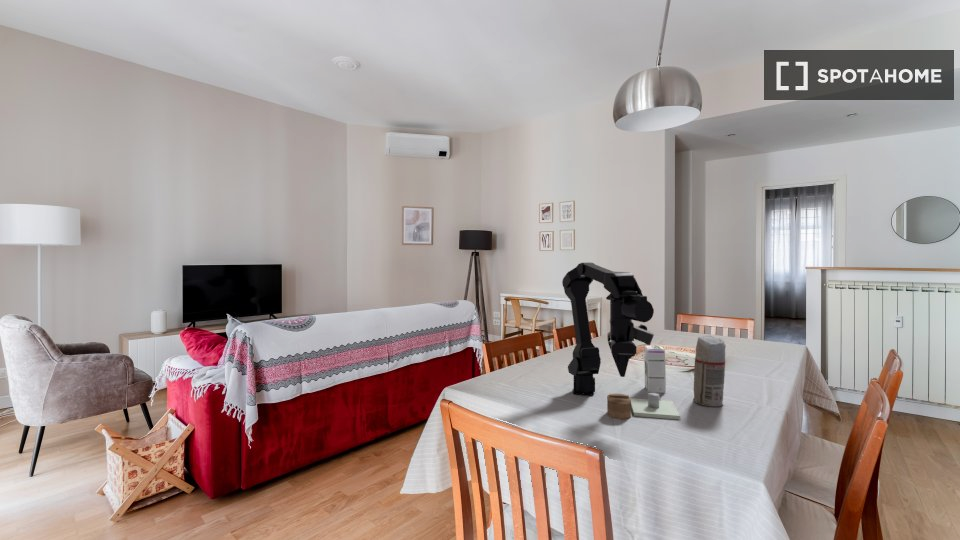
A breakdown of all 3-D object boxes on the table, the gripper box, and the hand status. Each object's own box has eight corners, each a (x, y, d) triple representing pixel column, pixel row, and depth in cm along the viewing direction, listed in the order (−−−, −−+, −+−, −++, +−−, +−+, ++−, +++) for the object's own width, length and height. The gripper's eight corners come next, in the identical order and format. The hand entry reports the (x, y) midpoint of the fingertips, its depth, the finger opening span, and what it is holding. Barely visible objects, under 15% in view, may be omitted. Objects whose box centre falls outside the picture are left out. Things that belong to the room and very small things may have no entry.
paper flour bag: (721, 399, 131) (722, 335, 130) (727, 408, 123) (728, 340, 122) (691, 397, 134) (691, 334, 133) (695, 405, 126) (695, 339, 125)
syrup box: (666, 393, 137) (666, 349, 137) (647, 392, 138) (647, 348, 138) (662, 388, 143) (662, 345, 142) (643, 387, 144) (643, 344, 143)
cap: (607, 417, 117) (607, 398, 117) (606, 409, 123) (606, 390, 123) (632, 419, 116) (632, 399, 115) (629, 411, 122) (629, 392, 122)
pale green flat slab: (633, 415, 119) (633, 399, 118) (629, 401, 130) (629, 386, 130) (680, 419, 116) (680, 403, 115) (672, 404, 127) (672, 389, 127)
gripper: (657, 323, 108) (657, 383, 108) (646, 313, 126) (646, 365, 127) (611, 322, 111) (611, 381, 111) (607, 312, 129) (607, 363, 129)
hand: (620, 372), depth 119 cm, fingers open, 9 cm apart
